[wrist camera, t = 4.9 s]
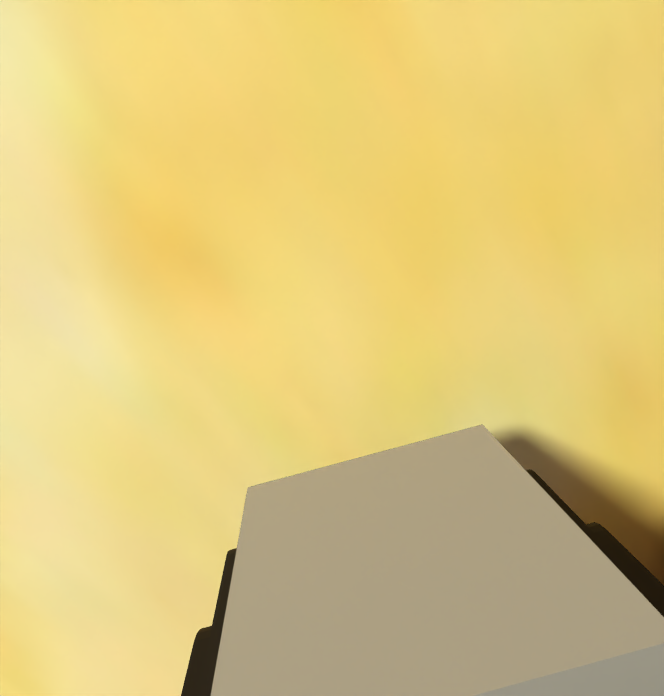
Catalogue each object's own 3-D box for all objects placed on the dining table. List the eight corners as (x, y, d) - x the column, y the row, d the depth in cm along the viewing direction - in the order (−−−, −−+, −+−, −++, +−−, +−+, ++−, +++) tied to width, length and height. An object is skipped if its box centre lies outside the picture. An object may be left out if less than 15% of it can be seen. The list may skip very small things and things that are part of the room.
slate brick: (248, 487, 9) (197, 770, 4) (482, 424, 9) (682, 638, 4) (310, 666, 11) (323, 1031, 6) (514, 611, 11) (694, 927, 6)
